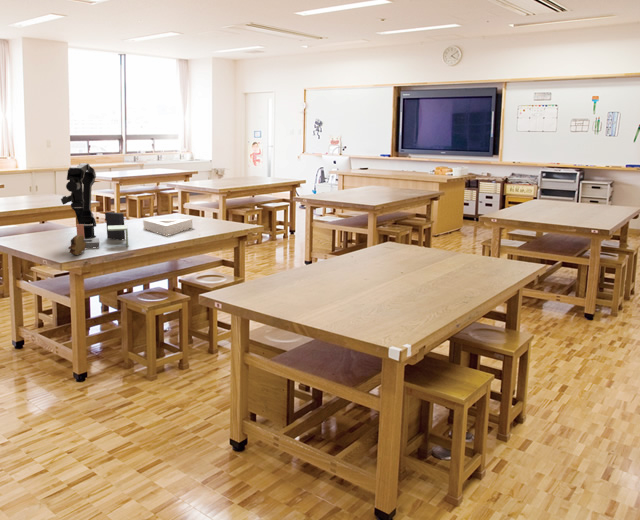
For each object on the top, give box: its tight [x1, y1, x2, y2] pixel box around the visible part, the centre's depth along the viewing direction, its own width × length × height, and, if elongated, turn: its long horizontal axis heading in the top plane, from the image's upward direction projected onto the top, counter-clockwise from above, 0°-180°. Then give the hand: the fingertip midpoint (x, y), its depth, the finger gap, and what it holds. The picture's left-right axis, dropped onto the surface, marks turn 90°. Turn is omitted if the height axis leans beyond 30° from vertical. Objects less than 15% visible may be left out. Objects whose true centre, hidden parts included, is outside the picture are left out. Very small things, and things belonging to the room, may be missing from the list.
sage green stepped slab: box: [108, 224, 129, 247], centre depth 340 cm, size 12×10×10 cm
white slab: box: [142, 218, 194, 236], centre depth 389 cm, size 30×26×6 cm
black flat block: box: [104, 211, 126, 241], centre depth 357 cm, size 11×4×15 cm, turn 62°
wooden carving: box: [68, 234, 86, 256], centre depth 315 cm, size 16×5×10 cm, turn 3°
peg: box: [75, 223, 86, 239], centre depth 345 cm, size 4×4×10 cm
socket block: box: [83, 238, 100, 249], centre depth 336 cm, size 12×12×3 cm
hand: (78, 219), depth 343 cm, fingers open, 9 cm apart
